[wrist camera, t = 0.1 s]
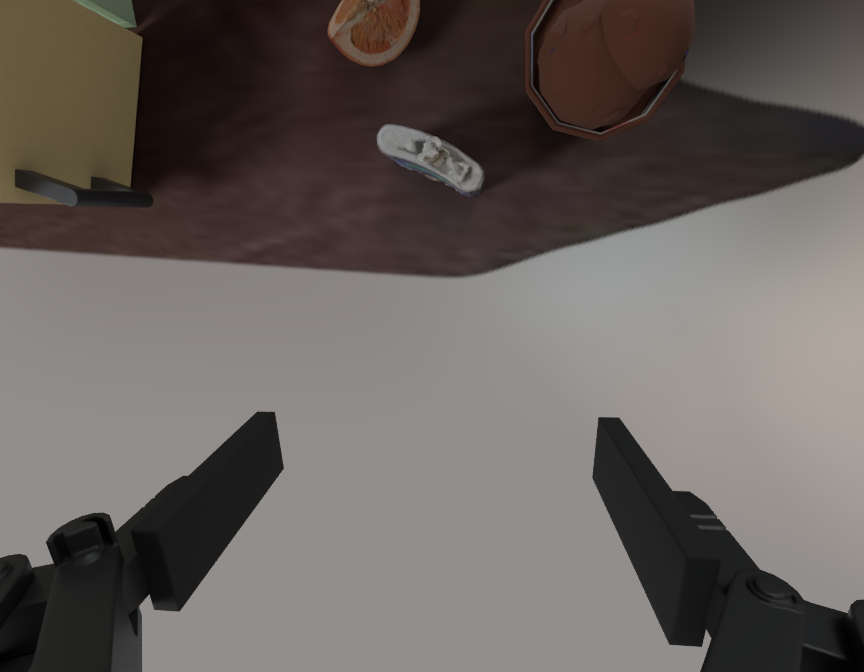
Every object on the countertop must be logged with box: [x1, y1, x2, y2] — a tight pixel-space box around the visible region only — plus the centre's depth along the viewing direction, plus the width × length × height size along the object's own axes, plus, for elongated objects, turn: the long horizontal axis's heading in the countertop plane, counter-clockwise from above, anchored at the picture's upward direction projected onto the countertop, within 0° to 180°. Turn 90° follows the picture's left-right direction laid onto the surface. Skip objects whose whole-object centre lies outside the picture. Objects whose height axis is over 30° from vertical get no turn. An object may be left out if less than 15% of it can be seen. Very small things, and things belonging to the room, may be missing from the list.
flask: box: [377, 124, 485, 197], centre depth 34 cm, size 9×3×11 cm, turn 66°
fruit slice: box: [328, 0, 420, 67], centre depth 34 cm, size 8×7×5 cm
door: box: [0, 0, 153, 207], centre depth 34 cm, size 6×16×15 cm, turn 162°
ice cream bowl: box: [525, 0, 696, 141], centre depth 29 cm, size 11×11×15 cm
